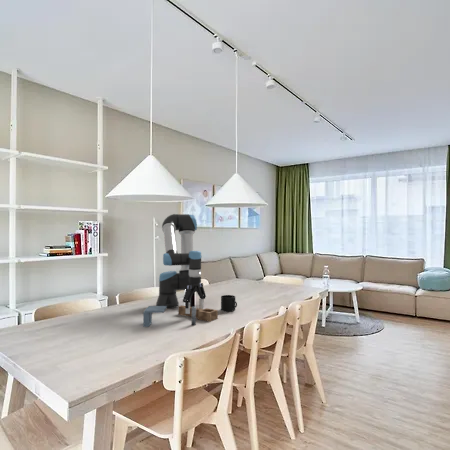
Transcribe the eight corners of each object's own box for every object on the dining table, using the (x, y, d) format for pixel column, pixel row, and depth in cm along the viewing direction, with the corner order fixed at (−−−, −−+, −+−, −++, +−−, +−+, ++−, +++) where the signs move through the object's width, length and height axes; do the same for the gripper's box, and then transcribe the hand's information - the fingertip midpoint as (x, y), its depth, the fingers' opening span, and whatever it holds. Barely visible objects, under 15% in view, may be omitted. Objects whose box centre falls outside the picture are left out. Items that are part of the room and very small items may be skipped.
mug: (232, 313, 210) (232, 299, 210) (217, 310, 217) (218, 296, 218) (241, 310, 217) (241, 296, 217) (227, 307, 225) (227, 294, 225)
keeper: (166, 321, 189) (166, 306, 189) (163, 327, 178) (163, 310, 178) (146, 321, 189) (147, 305, 189) (142, 327, 178) (142, 310, 178)
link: (175, 315, 204) (175, 307, 204) (184, 312, 210) (184, 304, 211) (209, 321, 190) (209, 313, 190) (217, 318, 197) (217, 310, 197)
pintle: (190, 324, 184) (190, 306, 184) (193, 323, 186) (193, 306, 186) (194, 325, 182) (194, 307, 182) (196, 324, 184) (196, 306, 185)
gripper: (187, 278, 189) (186, 316, 188) (211, 274, 210) (211, 308, 209) (176, 278, 193) (176, 314, 192) (201, 273, 214) (201, 307, 213)
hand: (194, 311), depth 201 cm, fingers open, 13 cm apart
